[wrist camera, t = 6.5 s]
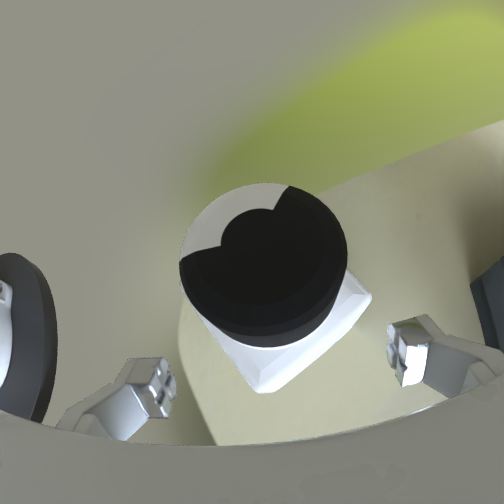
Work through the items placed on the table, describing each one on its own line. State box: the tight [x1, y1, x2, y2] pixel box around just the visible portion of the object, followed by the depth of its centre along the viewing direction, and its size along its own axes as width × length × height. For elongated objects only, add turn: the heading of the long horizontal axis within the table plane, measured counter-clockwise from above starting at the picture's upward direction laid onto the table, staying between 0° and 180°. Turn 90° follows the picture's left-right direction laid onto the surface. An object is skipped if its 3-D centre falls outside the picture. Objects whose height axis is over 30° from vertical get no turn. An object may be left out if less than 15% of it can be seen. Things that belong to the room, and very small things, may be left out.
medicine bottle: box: [179, 183, 372, 393], centre depth 15 cm, size 7×7×12 cm
